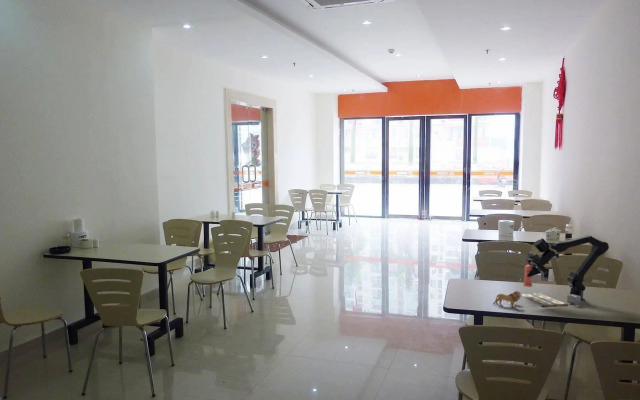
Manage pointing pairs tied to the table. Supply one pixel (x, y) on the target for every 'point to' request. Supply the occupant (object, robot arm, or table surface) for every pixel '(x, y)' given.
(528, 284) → the pawn
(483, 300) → the table surface
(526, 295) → the board
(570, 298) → the die
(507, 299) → the lion figurine
